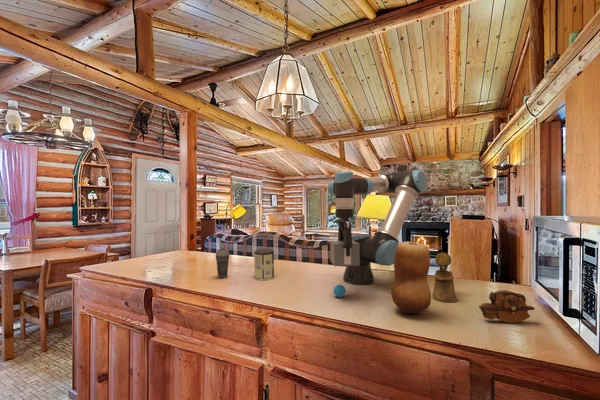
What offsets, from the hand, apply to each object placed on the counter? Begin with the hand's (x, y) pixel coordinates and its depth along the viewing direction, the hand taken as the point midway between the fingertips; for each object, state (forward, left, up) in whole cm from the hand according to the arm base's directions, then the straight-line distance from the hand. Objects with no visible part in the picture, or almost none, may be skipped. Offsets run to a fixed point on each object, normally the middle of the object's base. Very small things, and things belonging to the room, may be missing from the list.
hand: (344, 261), depth 119 cm
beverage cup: (+58, -34, -15) cm, 69 cm away
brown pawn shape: (-41, +3, -15) cm, 44 cm away
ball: (+2, 0, -12) cm, 13 cm away
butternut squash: (-20, +18, -15) cm, 31 cm away
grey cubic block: (0, 0, -1) cm, 1 cm away
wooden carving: (-48, +28, -15) cm, 58 cm away
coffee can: (+36, -33, -15) cm, 51 cm away
